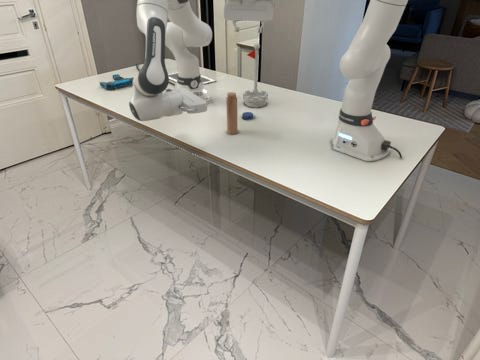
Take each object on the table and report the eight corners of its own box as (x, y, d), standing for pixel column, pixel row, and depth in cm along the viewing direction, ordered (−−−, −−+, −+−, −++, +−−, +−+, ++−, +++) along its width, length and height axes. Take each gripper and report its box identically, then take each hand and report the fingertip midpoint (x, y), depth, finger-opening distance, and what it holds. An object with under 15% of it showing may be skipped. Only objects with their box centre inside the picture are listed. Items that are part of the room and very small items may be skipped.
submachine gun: (143, 67, 226) (161, 73, 210) (144, 73, 228) (162, 79, 212) (92, 77, 208) (107, 85, 191) (93, 83, 210) (109, 91, 193)
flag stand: (261, 97, 185) (263, 39, 169) (271, 105, 175) (275, 44, 158) (239, 100, 181) (239, 41, 165) (248, 109, 171) (249, 46, 154)
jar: (225, 132, 148) (223, 94, 139) (231, 129, 152) (230, 91, 142) (233, 135, 146) (233, 96, 137) (239, 131, 149) (239, 93, 140)
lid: (255, 117, 163) (255, 113, 162) (249, 120, 159) (249, 117, 158) (246, 114, 165) (246, 111, 164) (240, 118, 162) (240, 114, 161)
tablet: (161, 76, 220) (161, 75, 220) (187, 70, 231) (187, 69, 231) (189, 87, 200) (189, 87, 199) (216, 81, 211) (216, 80, 210)
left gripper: (184, 103, 119) (219, 96, 125) (163, 87, 134) (195, 82, 140) (186, 120, 123) (219, 112, 129) (165, 103, 137) (196, 97, 143)
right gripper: (275, -6, 135) (273, 31, 143) (225, -7, 138) (226, 30, 145) (274, -5, 130) (272, 34, 138) (222, -5, 133) (223, 33, 140)
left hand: (207, 96), depth 134 cm, fingers open, 8 cm apart
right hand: (248, 32), depth 142 cm, fingers open, 8 cm apart
